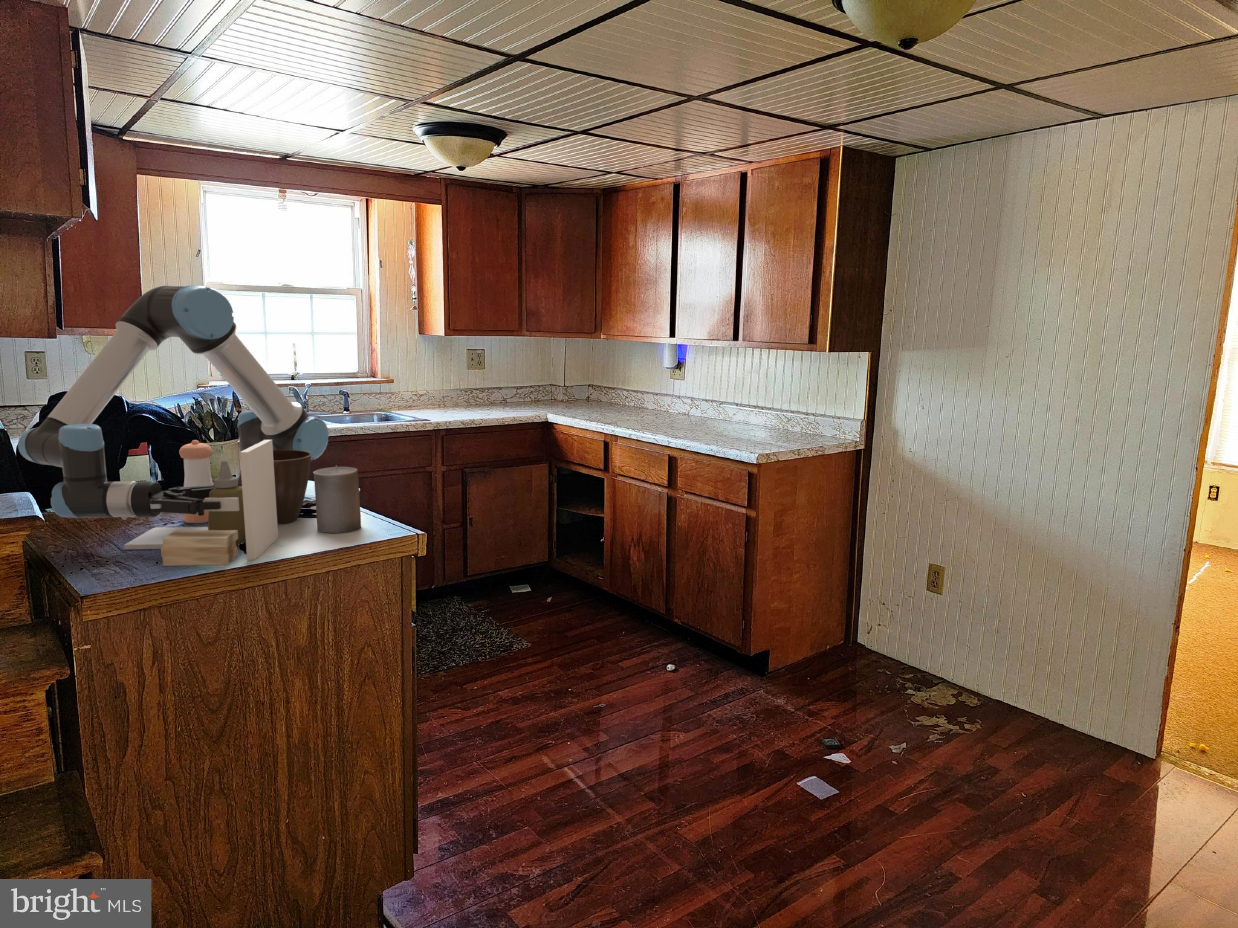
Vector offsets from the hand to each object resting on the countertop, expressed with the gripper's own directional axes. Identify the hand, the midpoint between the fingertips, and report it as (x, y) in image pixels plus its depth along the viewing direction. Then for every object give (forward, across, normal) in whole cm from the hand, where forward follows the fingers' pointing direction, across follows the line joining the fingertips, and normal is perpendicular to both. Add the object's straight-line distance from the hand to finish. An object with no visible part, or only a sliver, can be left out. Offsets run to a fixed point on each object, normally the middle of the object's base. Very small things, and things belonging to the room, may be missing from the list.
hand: (247, 498), depth 173 cm
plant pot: (+1, -20, -10) cm, 22 cm away
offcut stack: (-6, +12, -10) cm, 17 cm away
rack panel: (+4, +4, -10) cm, 11 cm away
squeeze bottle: (-4, 0, -10) cm, 11 cm away
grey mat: (-17, -4, -10) cm, 20 cm away
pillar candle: (+16, -12, -10) cm, 22 cm away
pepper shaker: (-18, -22, -10) cm, 30 cm away
